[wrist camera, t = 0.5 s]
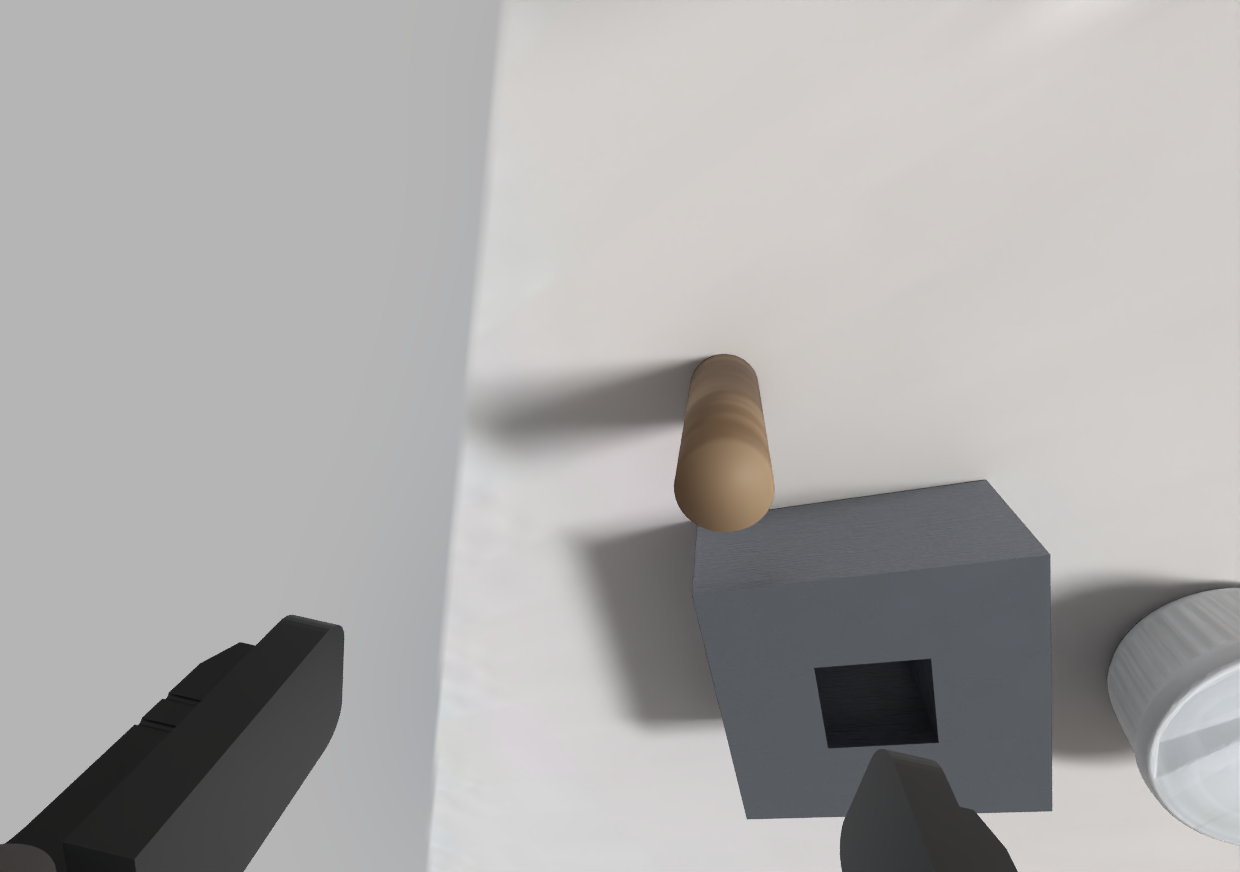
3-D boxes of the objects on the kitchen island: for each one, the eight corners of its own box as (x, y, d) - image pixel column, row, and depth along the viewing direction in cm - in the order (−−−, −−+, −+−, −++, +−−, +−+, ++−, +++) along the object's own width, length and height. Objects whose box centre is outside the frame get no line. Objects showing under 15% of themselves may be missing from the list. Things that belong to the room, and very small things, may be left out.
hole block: (986, 479, 28) (1050, 554, 22) (996, 703, 32) (1052, 811, 27) (697, 519, 31) (691, 594, 25) (743, 719, 35) (746, 819, 30)
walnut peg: (752, 348, 27) (765, 436, 18) (763, 411, 28) (781, 525, 19) (684, 361, 28) (664, 452, 19) (697, 423, 29) (685, 538, 20)
